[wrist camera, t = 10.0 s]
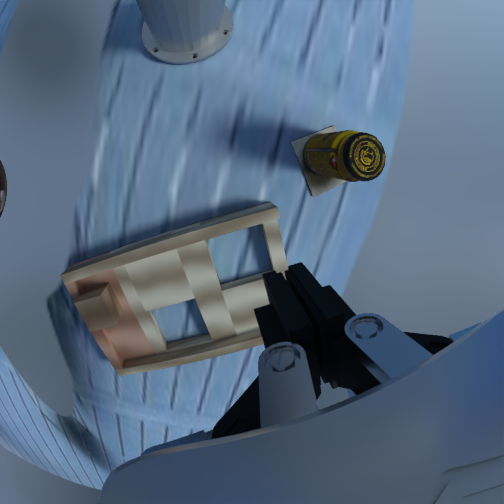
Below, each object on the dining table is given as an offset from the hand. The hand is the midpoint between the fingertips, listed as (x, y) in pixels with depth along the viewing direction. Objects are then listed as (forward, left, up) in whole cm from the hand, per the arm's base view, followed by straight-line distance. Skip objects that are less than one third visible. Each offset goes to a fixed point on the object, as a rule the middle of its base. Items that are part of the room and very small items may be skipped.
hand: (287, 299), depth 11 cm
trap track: (+12, -11, -27) cm, 32 cm away
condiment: (-2, +14, -27) cm, 31 cm away
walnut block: (+8, -23, -25) cm, 35 cm away
